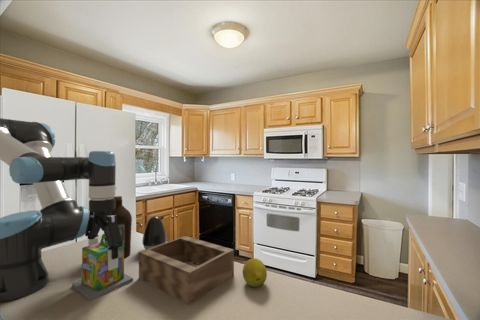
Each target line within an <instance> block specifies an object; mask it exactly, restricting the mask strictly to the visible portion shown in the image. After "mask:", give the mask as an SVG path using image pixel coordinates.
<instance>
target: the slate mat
mask: <svg viewBox="0 0 480 320" xmlns="http://www.w3.org/2000/svg"><path fill="white" fill-rule="evenodd" d="M133 281H134V278H133V277H132V276H130V275H127V274H126V273H124V278H123V279H121V280H119V281H117V282H115V283H112V284H110V285H108V286H106V287H104V288H102V289H100V290H98V291H96V290H95V289H93V288H91V287H89V286H87V285H85V284H83V283H81V282H82V279H80V280H77V281H74V282H72V283H71V286H72V288H74V289H75V290H76V291H77V292H79V293H80V294H81V295H83V297H84V298H86V299H88V300H89V301H92V300H94V299H97V298H99V297H101V296H103V295H105V294H107V293H110V292H112V291H114V290H116V289H118V288H121V287H123V286H125V285H127V284H129V283H132V282H133Z"/></svg>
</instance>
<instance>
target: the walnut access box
mask: <svg viewBox="0 0 480 320" xmlns="http://www.w3.org/2000/svg"><path fill="white" fill-rule="evenodd" d="M234 252H235V249H234V248H229V247H225V246H222V245H219V244H215V243H212V242H208V241H205V240H201V239H197V238H193V237H191V236H186V235H183V236H180V237H178V238H177V237H176V238H175V239H172V240H169V241H166V243H163V244H160V245H157V246H154V247H151V248H149V249H143V250H140V251H138V279H140V280H142V281H144V282H145V283H147V284H150V286H153V287H155V288H157V289H159V290H161V291H163V292H165V294H166V293H167V294H168V295H170V296H172V297H174V298H176V299H178V300H180V301H182V302H184V303H185V304H187V305H189V306H191V305H192V304H193V303H195V302H197V301H198V300H199V299H201V298H202V297H204V296H205V295H207V294H208V293H210V292H211V291H213V290H214V289H216V288H217V287H219V286H220V285H221V284H223V283H225V282H226V281H228V280H229V279H230V278H232V277H234V276H235V264H234V263H235V262H234V261H235V259H234V258H235V253H234ZM184 260H186V261H189V262H191V263H194V264H197V266H193V265H190V264H189V263H188V264H187V263H185V262H183V261H184Z"/></svg>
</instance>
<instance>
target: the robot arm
mask: <svg viewBox="0 0 480 320" xmlns="http://www.w3.org/2000/svg"><path fill="white" fill-rule="evenodd" d="M55 138H56V136H55V131H54V130H53V129H52V127H50V125H48V124H46V123H43V122H38V121H25V120H17V119H7V118H1V117H0V160H1V161H2V162H3V163H4V164H6V165H7V166H9V169H8V172H9V176H10V177H11V180H12V181H13V182H14V183H16V184H29V185H30V184H31V185H33V188H34V190H35V193H36V196H37V198H38V200H39V203H40V206H41V209H39V210H37V209H36V210H27V211H21V212H20V211H19V212H14V213H11V214H8V215H5V216H1V217H0V303H3V302H8V301H9V302H10V301H13V300H17V299H20V298H22V297H26V296H28V295H31V294H33V293H35V292H37V291H39V290H41V289H42V288H44V287H45V286H46V285H47V284H48V282H49V272H48V270H47V268H46V266H45V263H44V261H43V259H42V250H43V249H47V248H49V247H53V246H56V245H60V244H64V243H68V242H71V241H75V240H76V239H80V238H82V237H83V236H85V237H87V240H88V246H90V245H93V244H97V243H99V238H98V237H99V233H100V230H102V231H103V234H104V233H105V236H106V239H107V242H108V244H109V248H108V270H109V271H110V270H112V269H115V268H118V247H121V246H122V245H123V244H122V240H121V235H120V231H119V227H118V223H117V215H113V216H112V215H111V211H112V210H114V209H115V208H116V199H115V198H114V197H115V196H116V189H117V187H116V170H117V169H116V166H117V163H116V153H115V152H113V151H109V150H108V151H106V150H93V151H90V152H89V153H88V156H87V157H84V156H72V157H71V156H69V157H68V156H67V157H66V156H64V157H60V156H57V157H56V156H52V155H51V152H52V151H53V148H54V146H55V145H56V139H55ZM75 180H88V198H89V201H88V208H87V207H85V206H84V205H83V206H82V205H81V206H78V205H79V204H78V203H77V201H76V199H73V198H70V197H69V193H68V192H67V190H66V187H65V184H64V182H63V181H75Z"/></svg>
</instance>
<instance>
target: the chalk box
mask: <svg viewBox="0 0 480 320" xmlns="http://www.w3.org/2000/svg"><path fill="white" fill-rule="evenodd" d="M105 238H106V236H105V234H104V233H102V235H101V237H100V242H98V243H97V244H93V245H90V246H89V245H87V246H84V247H82V250H81V253H82V254H81V280H82V282H81V283H83V284H85V285H87V286H89V287H91V288H93V289H95V290H96V291H98V290H100V289H102V288H104V287H106V286H108V285H110V284H112V283H115V282H117V281H119V280H121V279H123V278H124V274H125V258H124V244H123V245H122V246H121V247H118V268H115V269H112V270H110V271H109V270H108V248H109V244H108V242H107V241H105V240H104V239H105Z"/></svg>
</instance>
